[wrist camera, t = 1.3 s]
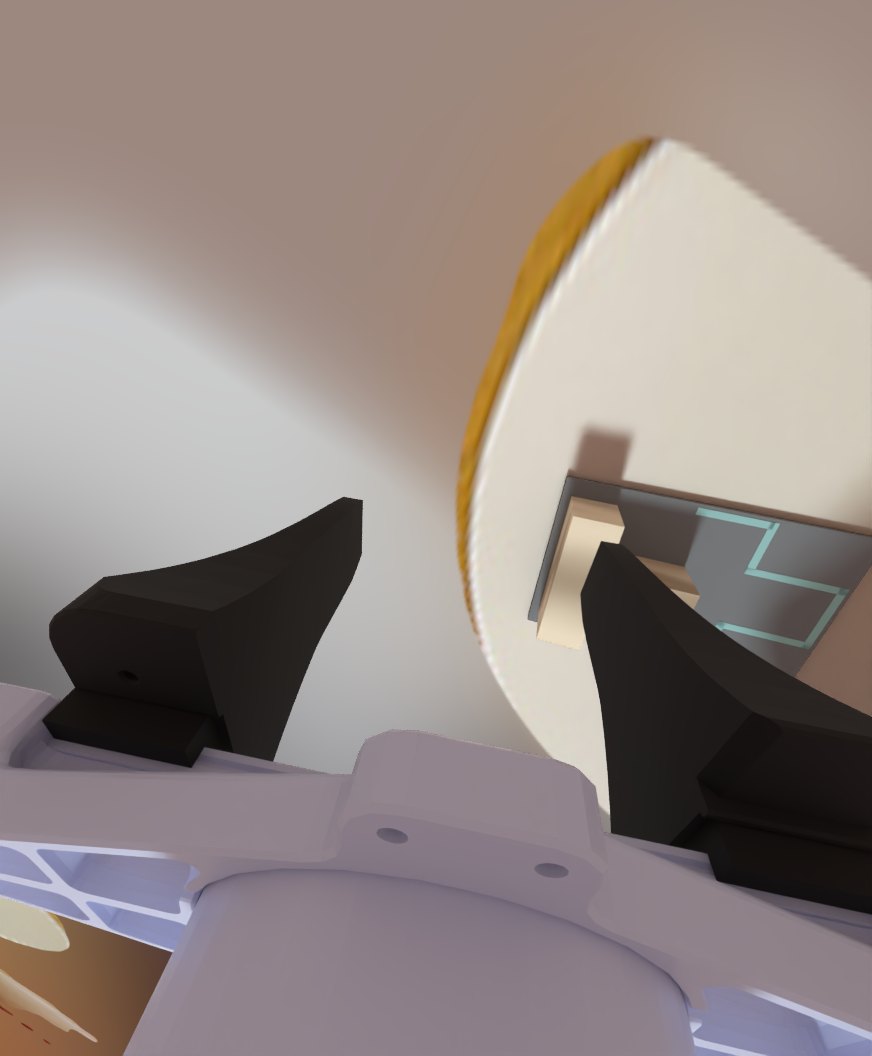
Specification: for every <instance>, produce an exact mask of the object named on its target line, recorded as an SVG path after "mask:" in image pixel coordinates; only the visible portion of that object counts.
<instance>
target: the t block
mask: <svg viewBox="0 0 872 1056" xmlns="http://www.w3.org/2000/svg"><path fill="white" fill-rule="evenodd" d="M624 528H625V526H624V523H623V520H622V518H621V515H620V512H619V509H618V506H617V505H613V504H608V503H603V502H598V501H593V500H589V499H584V498H579V497H574V496H571V500H570V503H569V507H568V510H567V513H566V517H565V520H564V524H563V527H562V531H561V534H560V538H559V541H558V545H557V548H556V551H555V555H554V558H553V562H552V565H551V569H550V572H549V576H548V579H547V583H546V586H545V589H544V593H543V596H542V600H541V603H540V607H539V612H538V625H537V638H536V639H539V640H542V641H546V642H550V643H554V644H557V645H561V646H565V647H568V648H572V649H576V650H580V649H581V646H582V643H583V641H584V638H585V632H584V627H583V622H582V612H581V596H580V593H581V590H582V588H583V585H584V583H585V580H586V578H587V575H588V573H589V570H590V568H591V565H592V563H593V560H594V558H595V555H596V552H597V550H598V547H599V545H600V542H601V541H604V542H610V543H616V544H619V542H620V539H621V536H622V533H623V531H624ZM636 557H637V558H638V559H639V560H640V561H641V562H642V563H643V564H644V565H645V566H646V567H647V568H648V569H649V570H650V571H651V572H652V573H654V574H655V575H656V576H657V577H658V578H659V579H660V580H661V581H662V582H663V583H664V584H665V585H666V586H667V587H668V588H669V589H671V590H672V591H673V592H674V593H675V594H676V595H677V596H678V597H679V598H681V599H682V600H683V601H684V602H685V603H686V604H688V605H689V606H690V607H691V608H692V609H694V608H695V606H696V604H697V602H698V599H699V597H700V595H699V593H698V591H697V589H696V587H695V585H694V583H693V581H692V580H691V578H690V576H689V574H688V572H687V570H686V568H685V567H683V566H678V565H674V564H670V563H665V562H661V561H656V560H652V559H647V558H643V557H638V556H636Z"/></svg>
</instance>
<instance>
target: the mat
mask: <svg viewBox="0 0 872 1056" xmlns="http://www.w3.org/2000/svg"><path fill="white" fill-rule="evenodd" d="M571 496H574V497H579V498H584V499H589V500H593V501H598V502H603V503H608V504H613V505H617V506H618V509H619V512H620V515H621V518H622V520H623V523H624V526H625V528H624V531H623V533H622V536H621V539H620V542H619V544H622V545H623V546H625V547H626V548H627V549H628V550H629V551H630V552H632V553H633V554H634V555H635V556H638V557H643V558H647V559H652V560H656V561H661V562H665V563H670V564H674V565H678V566H683V567H685V568H686V570H687V572H688V574H689V576H690V578H691V580H692V581H693V583H694V585H695V587H696V589H697V591H698V593H699V595H700V597H699V599H698V602H697V604H696V606H695V608H694V610H695V611H696V612H697V613H698V614H700V615H701V616H702V617H703V618H705V619H706V620H707V621H708V622H710V623H711V624H712V625H714V626H715V627H717V628H718V629H719V630H721V631H722V632H723V633H725V634H726V635H727V636H729V637H730V638H732V639H733V640H734V641H736V642H737V643H739V644H740V645H742V646H743V647H745V648H746V649H748V650H749V651H751V652H753V653H754V654H756V655H757V656H759V657H761V658H762V659H764V660H765V661H767V662H768V663H770V664H772V665H773V666H775V667H777V668H778V669H780V670H782V671H784V672H785V673H787V674H789V675H790V676H792V677H795V675H796V674H797V673H798V671H799V670H800V668H801V667H802V665H803V664H804V662H805V661H806V659H807V658H808V657H809V655H810V654H811V652H812V651H813V649H814V648H815V646H816V645H817V643H818V642H819V641H820V639H821V638H822V636H823V635H824V633H825V632H826V630H827V629H828V627H829V626H830V625H831V623H832V622H833V620H834V619H835V617H836V616H837V614H838V613H839V611H840V610H841V608H842V607H843V606H844V604H845V603H846V601H847V600H848V598H849V597H850V595H851V594H852V592H853V591H854V590H855V588H856V587H857V585H858V584H859V582H860V581H861V579H862V578H863V576H864V575H865V574H866V572H867V571H868V569H869V568H870V566H871V565H872V536H867V535H862V534H857V533H852V532H847V531H842V530H837V529H832V528H827V527H822V526H817V525H812V524H807V523H802V522H797V521H792V520H787V519H782V518H777V517H772V516H767V515H762V514H757V513H752V512H746V511H741V510H736V509H731V508H726V507H721V506H716V505H711V504H706V503H701V502H696V501H691V500H686V499H681V498H676V497H671V496H666V495H661V494H656V493H651V492H646V491H641V490H636V489H630V488H625V487H620V486H615V485H610V484H605V483H600V482H595V481H590V480H585V479H580V478H575V477H570V476H567V478H566V482H565V485H564V489H563V493H562V496H561V500H560V503H559V507H558V511H557V514H556V518H555V521H554V525H553V529H552V532H551V536H550V539H549V543H548V547H547V550H546V554H545V557H544V561H543V565H542V568H541V572H540V575H539V579H538V583H537V586H536V590H535V593H534V597H533V600H532V604H531V608H530V611H529V615H528V620H531V621H534V622H538V612H539V607H540V603H541V600H542V596H543V593H544V589H545V586H546V583H547V579H548V576H549V572H550V569H551V565H552V562H553V558H554V555H555V551H556V548H557V545H558V541H559V538H560V534H561V531H562V527H563V524H564V520H565V517H566V513H567V510H568V507H569V503H570V500H571Z"/></svg>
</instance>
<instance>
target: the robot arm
mask: <svg viewBox="0 0 872 1056" xmlns="http://www.w3.org/2000/svg"><path fill="white" fill-rule="evenodd" d="M362 510H363V500H358V499H352V498H347V497H342V498H340V499H338V500H336V501H334V502H333V503H331V504H329V505H327V506H326V507H324V508H322V509H320V510H319V511H317V512H315V513H313V514H312V515H310V516H308V517H307V518H305V519H303V520H301V521H299V522H297V523H295V524H293V525H291V526H289V527H287V528H285V529H283V530H281V531H279V532H277V533H275V534H273V535H271V536H268V537H266V538H264V539H261V540H259V541H256V542H254V543H251V544H249V545H246V546H243V547H241V548H238V549H235V550H232V551H228V552H225V553H222V554H218V555H215V556H212V557H208V558H205V559H201V560H197V561H193V562H189V563H185V564H181V565H176V566H171V567H167V568H161V569H156V570H150V571H143V572H137V573H130V574H123V575H116V576H108V577H103V578H102V579H101V580H99V581H98V582H97V583H96V584H94V585H93V586H92V587H90V588H89V589H88V590H87V591H85V592H84V593H83V594H81V595H80V596H79V597H78V598H76V599H75V600H74V601H72V602H71V603H70V604H69V605H67V606H66V607H65V608H63V609H62V610H61V611H60V612H58V613H57V614H56V615H55V616H54V617H53V619H52V620H51V622H50V624H49V637H50V640H51V643H52V646H53V648H54V650H55V652H56V654H57V656H58V657H59V659H60V661H61V663H62V665H63V666H64V668H65V670H66V672H67V674H68V675H69V677H70V679H71V681H72V683H73V684H74V686H75V688H74V690H72V691H71V692H70V693H69V695H67V696H66V697H65V698H64V699H63V700H62V701H61V700H60V699H58V698H57V697H56V696H54V695H52V694H50V693H47V692H44V691H40V690H35V689H30V688H25V687H21V686H16V685H11V684H6V683H0V897H2V898H6V899H9V900H13V901H16V902H19V903H22V904H26V905H29V906H32V907H35V908H38V909H42V910H45V911H48V912H51V913H54V914H57V915H60V916H64V917H67V918H70V919H73V920H76V921H79V922H82V923H85V924H88V925H91V926H94V927H97V928H100V929H103V930H107V931H110V932H112V933H116V934H119V935H122V936H125V937H128V938H131V939H134V940H137V941H140V942H143V943H146V944H149V945H152V946H155V947H158V948H161V949H165V950H168V951H171V952H173V953H172V956H171V958H170V960H169V962H168V964H167V966H166V968H165V970H164V972H163V974H162V976H161V978H160V981H159V983H158V984H157V986H156V988H155V991H154V993H153V995H152V997H151V999H150V1001H149V1003H148V1005H147V1007H146V1009H145V1012H144V1013H143V1015H142V1017H141V1019H140V1021H139V1024H138V1025H137V1028H136V1030H135V1032H134V1034H133V1036H132V1038H131V1040H130V1042H129V1044H128V1046H127V1048H126V1050H125V1052H124V1054H123V1056H872V717H870V716H868V715H866V714H864V713H862V712H860V711H858V710H856V709H854V708H852V707H850V706H848V705H846V704H843V703H841V702H839V701H837V700H835V699H833V698H831V697H829V696H827V695H825V694H823V693H821V692H820V691H818V690H816V689H814V688H812V687H810V686H809V685H807V684H805V683H803V682H801V681H799V680H798V679H796V678H794V677H792V676H790V675H789V674H787V673H785V672H784V671H782V670H780V669H778V668H777V667H775V666H773V665H772V664H770V663H768V662H767V661H765V660H764V659H762V658H761V657H759V656H757V655H756V654H754V653H753V652H751V651H749V650H748V649H746V648H745V647H743V646H742V645H740V644H739V643H737V642H736V641H734V640H733V639H732V638H730V637H729V636H727V635H726V634H725V633H723V632H722V631H721V630H719V629H718V628H717V627H715V626H714V625H712V624H711V623H710V622H708V621H707V620H706V619H705V618H703V617H702V616H701V615H700V614H698V613H697V612H696V611H695V610H694V609H692V608H691V607H690V606H689V605H688V604H686V603H685V602H684V601H683V600H682V599H681V598H679V597H678V596H677V595H676V594H675V593H674V592H673V591H672V590H671V589H669V588H668V587H667V586H666V585H665V584H664V583H663V582H662V581H661V580H660V579H659V578H658V577H657V576H656V575H655V574H654V573H652V572H651V571H650V570H649V569H648V568H647V567H646V566H645V565H644V564H643V563H642V562H641V561H640V560H639V559H638V558H637V557H636V556H635V555H634V554H633V553H632V552H630V551H629V550H628V549H627V548H626V547H625V546H623V545H622V544H616V543H610V542H604V541H601V542H600V545H599V547H598V550H597V552H596V555H595V558H594V560H593V563H592V565H591V568H590V570H589V573H588V575H587V578H586V580H585V583H584V585H583V588H582V590H581V593H580V596H581V612H582V622H583V627H584V632H585V636H586V641H587V645H588V649H589V654H590V658H591V662H592V666H593V671H594V675H595V679H596V683H597V688H598V693H599V698H600V704H601V712H602V720H603V729H604V738H605V749H606V760H607V771H608V786H609V801H610V820H611V833H607V832H603V829H602V823H601V817H600V811H599V805H598V799H597V793H596V787H595V786H594V785H593V784H592V783H591V782H590V781H589V779H588V778H587V777H586V776H585V775H584V774H583V773H582V772H581V771H580V770H578V769H577V768H576V767H574V766H571V765H569V764H566V763H563V762H561V761H558V760H555V759H553V758H550V757H546V756H541V755H536V754H531V753H526V752H521V751H516V750H511V749H506V748H501V747H497V746H492V745H487V744H482V743H477V742H471V741H467V740H462V739H456V738H452V737H447V736H442V735H437V734H432V733H427V732H422V731H415V730H393V729H392V730H389V731H386V732H384V733H381V734H378V735H376V736H373V737H370V738H368V739H366V741H365V742H364V744H363V746H362V748H361V750H360V751H359V753H358V756H357V759H356V762H355V766H354V769H353V772H352V774H350V775H349V774H346V775H345V774H329V773H324V772H319V771H314V770H310V769H305V768H300V767H296V766H291V765H286V764H281V763H277V762H273V760H274V757H275V754H276V751H277V748H278V745H279V742H280V740H281V737H282V734H283V731H284V728H285V726H286V723H287V721H288V718H289V715H290V712H291V710H292V707H293V704H294V702H295V699H296V696H297V694H298V691H299V689H300V686H301V683H302V681H303V678H304V676H305V673H306V671H307V669H308V666H309V664H310V661H311V659H312V656H313V654H314V651H315V649H316V647H317V645H318V643H319V641H320V639H321V637H322V635H323V633H324V631H325V629H326V627H327V626H328V624H329V622H330V620H331V618H332V616H333V615H334V613H335V611H336V609H337V607H338V605H339V604H340V602H341V600H342V598H343V596H344V594H345V593H346V591H347V589H348V587H349V585H350V583H351V581H352V579H353V576H354V574H355V571H356V569H357V566H358V563H359V560H360V557H361V554H362Z"/></svg>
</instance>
